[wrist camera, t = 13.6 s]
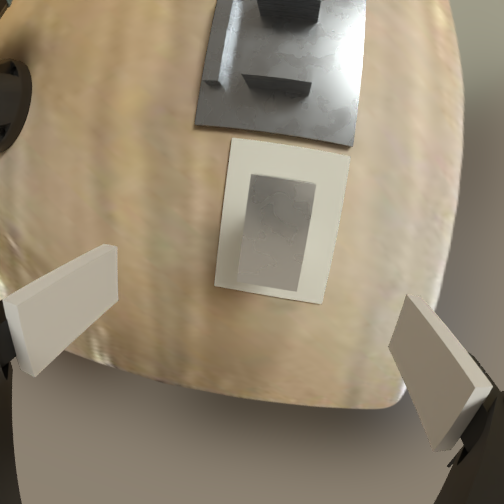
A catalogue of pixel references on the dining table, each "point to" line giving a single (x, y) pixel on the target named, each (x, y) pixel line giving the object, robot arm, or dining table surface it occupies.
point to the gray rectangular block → (275, 231)
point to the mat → (322, 218)
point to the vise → (285, 68)
